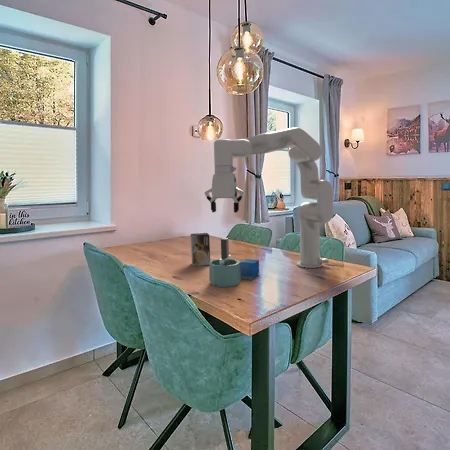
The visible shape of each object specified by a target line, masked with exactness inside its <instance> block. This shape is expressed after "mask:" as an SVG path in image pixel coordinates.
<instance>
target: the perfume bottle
mask: <svg viewBox="0 0 450 450" xmlns="http://www.w3.org/2000/svg"><path fill="white" fill-rule="evenodd" d="M240 274H241V275H242V276H252V277H254V278H255V277H256V276H258V275H259V274H260V260H259V259H251V258H245V259H243V260H241V261H240Z"/></svg>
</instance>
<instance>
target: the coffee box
mask: <svg viewBox="0 0 450 450" xmlns="http://www.w3.org/2000/svg"><path fill="white" fill-rule="evenodd" d="M190 246H191V247H190V248H191V251H190V253H191V264H192V266H193V267H198V266H199V267H200V266H209V262H211V249H210V248H211V246H210V234H209V233H208V232H202V233H201V232H200V233H199V232H197V233H196V232H195V233H190Z"/></svg>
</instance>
